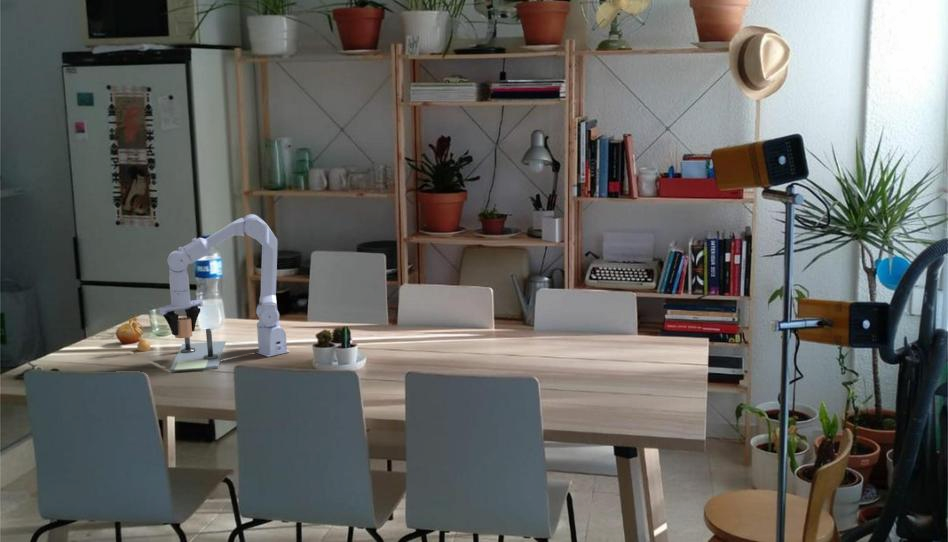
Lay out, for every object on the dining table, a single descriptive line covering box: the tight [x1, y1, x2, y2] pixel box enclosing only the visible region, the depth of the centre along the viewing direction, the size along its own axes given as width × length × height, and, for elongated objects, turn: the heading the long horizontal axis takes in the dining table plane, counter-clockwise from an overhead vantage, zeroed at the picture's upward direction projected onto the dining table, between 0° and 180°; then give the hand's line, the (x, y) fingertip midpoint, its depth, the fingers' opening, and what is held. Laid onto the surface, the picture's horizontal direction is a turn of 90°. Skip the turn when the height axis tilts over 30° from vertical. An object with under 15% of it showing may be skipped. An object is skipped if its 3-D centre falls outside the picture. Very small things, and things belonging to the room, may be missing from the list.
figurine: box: [128, 316, 151, 352], centre depth 328 cm, size 8×6×12 cm
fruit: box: [115, 322, 142, 346], centre depth 341 cm, size 8×8×8 cm
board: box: [169, 340, 227, 373], centre depth 322 cm, size 30×14×1 cm, turn 9°
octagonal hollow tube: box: [174, 316, 193, 339], centre depth 316 cm, size 5×5×6 cm
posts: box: [181, 328, 218, 360], centre depth 321 cm, size 17×4×9 cm, turn 47°
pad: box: [174, 359, 208, 370], centre depth 310 cm, size 9×9×1 cm
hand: (183, 332), depth 316 cm, fingers closed on octagonal hollow tube, 5 cm apart
